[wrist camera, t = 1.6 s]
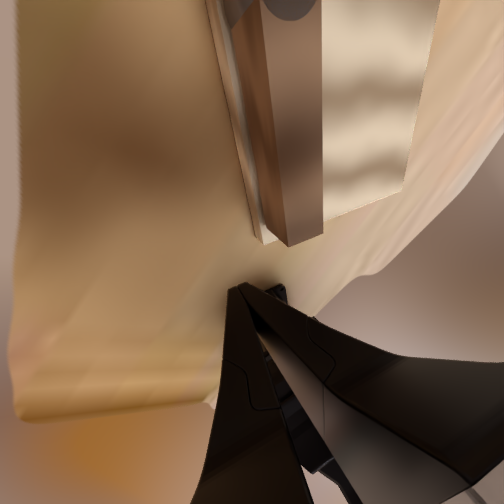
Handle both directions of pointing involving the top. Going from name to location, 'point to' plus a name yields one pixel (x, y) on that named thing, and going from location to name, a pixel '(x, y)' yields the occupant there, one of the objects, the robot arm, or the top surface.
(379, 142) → the stool seat
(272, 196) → the walnut leg
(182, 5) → the top surface
